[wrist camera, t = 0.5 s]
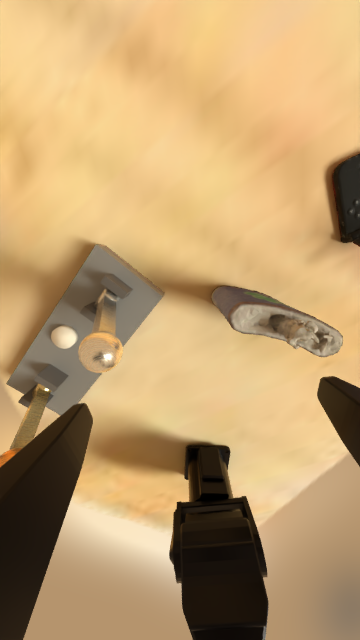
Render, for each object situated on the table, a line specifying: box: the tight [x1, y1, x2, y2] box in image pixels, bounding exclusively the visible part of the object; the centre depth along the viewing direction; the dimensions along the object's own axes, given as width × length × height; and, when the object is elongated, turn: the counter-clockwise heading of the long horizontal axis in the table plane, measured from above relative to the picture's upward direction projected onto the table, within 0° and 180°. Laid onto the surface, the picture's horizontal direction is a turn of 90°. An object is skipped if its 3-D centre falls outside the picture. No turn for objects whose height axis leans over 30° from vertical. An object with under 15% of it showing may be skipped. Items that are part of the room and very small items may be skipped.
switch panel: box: [6, 244, 164, 415], centre depth 22 cm, size 20×8×5 cm, turn 141°
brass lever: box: [0, 384, 51, 467], centre depth 18 cm, size 3×3×10 cm
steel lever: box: [78, 288, 123, 373], centre depth 15 cm, size 3×3×10 cm
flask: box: [211, 286, 343, 357], centre depth 18 cm, size 9×3×11 cm, turn 73°
